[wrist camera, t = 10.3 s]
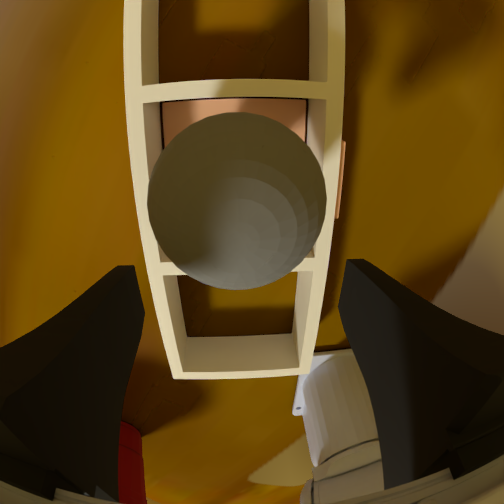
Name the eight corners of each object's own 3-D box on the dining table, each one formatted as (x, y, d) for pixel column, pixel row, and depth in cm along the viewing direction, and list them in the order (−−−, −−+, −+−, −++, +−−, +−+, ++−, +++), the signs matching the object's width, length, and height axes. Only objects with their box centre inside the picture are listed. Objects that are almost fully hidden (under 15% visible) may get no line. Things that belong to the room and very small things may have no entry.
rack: (305, 339, 24) (314, 373, 21) (178, 344, 24) (173, 378, 21) (328, -50, 11) (348, -72, 8) (147, -49, 10) (130, -73, 7)
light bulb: (295, 108, 16) (374, 140, 7) (282, 210, 19) (325, 330, 10) (182, 99, 15) (119, 119, 6) (178, 204, 18) (135, 322, 9)
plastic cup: (136, 403, 28) (119, 509, 18) (174, 448, 33) (169, 532, 23) (58, 402, 28) (31, 489, 18) (103, 446, 34) (90, 520, 23)
